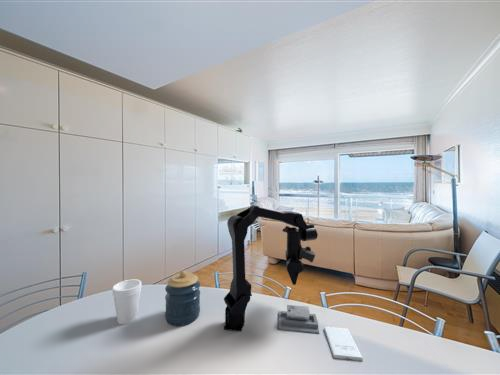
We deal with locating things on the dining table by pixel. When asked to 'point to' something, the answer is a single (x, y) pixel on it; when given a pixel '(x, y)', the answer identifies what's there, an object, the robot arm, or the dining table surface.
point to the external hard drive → (342, 343)
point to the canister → (182, 299)
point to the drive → (297, 313)
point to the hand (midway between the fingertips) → (293, 279)
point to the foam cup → (127, 300)
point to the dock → (298, 323)
